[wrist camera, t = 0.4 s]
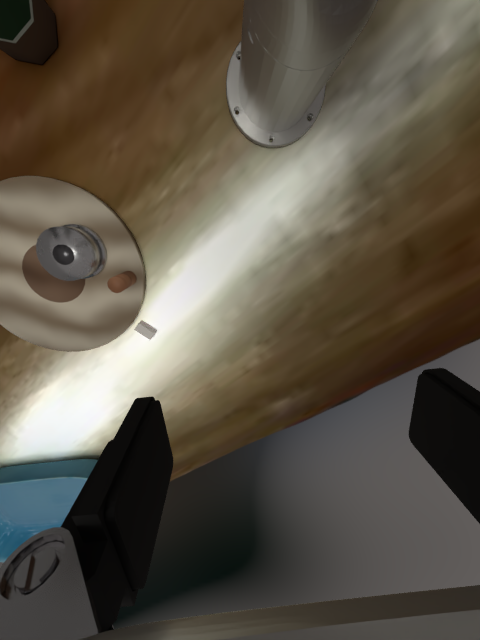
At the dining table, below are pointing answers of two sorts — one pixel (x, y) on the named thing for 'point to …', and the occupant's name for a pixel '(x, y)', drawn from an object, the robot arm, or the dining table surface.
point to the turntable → (55, 294)
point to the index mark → (145, 329)
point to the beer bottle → (27, 30)
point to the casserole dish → (37, 498)
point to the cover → (71, 252)
